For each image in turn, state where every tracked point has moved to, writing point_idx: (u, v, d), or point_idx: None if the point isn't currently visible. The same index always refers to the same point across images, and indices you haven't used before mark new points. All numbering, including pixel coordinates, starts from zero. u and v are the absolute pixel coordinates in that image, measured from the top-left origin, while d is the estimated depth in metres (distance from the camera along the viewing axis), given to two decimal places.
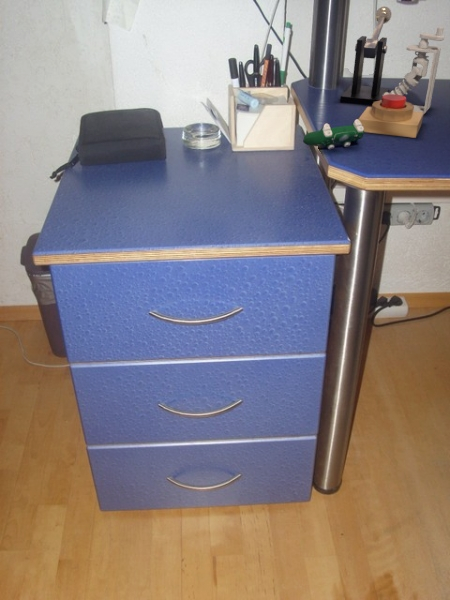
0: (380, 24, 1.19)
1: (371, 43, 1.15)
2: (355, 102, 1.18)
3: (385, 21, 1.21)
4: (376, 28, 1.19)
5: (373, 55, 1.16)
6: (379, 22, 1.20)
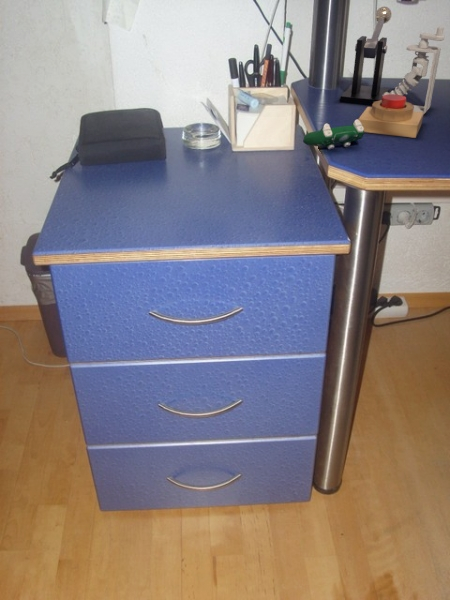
0: (380, 24, 1.19)
1: (371, 43, 1.15)
2: (355, 102, 1.18)
3: (385, 21, 1.21)
4: (376, 28, 1.19)
5: (373, 55, 1.16)
6: (379, 22, 1.20)
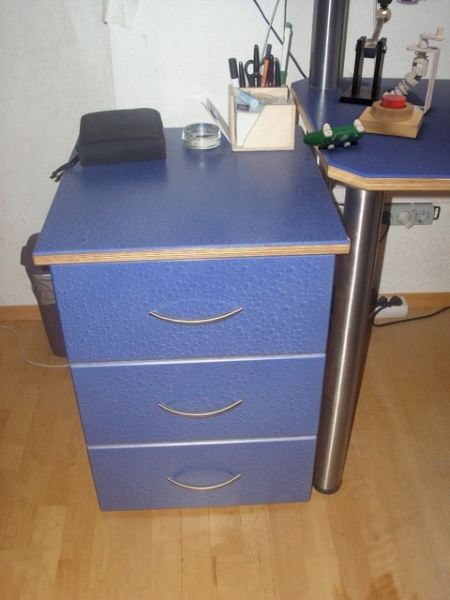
0: (380, 24, 1.19)
1: (371, 43, 1.15)
2: (355, 102, 1.18)
3: (385, 21, 1.21)
4: (376, 28, 1.19)
5: (373, 55, 1.16)
6: (379, 22, 1.20)
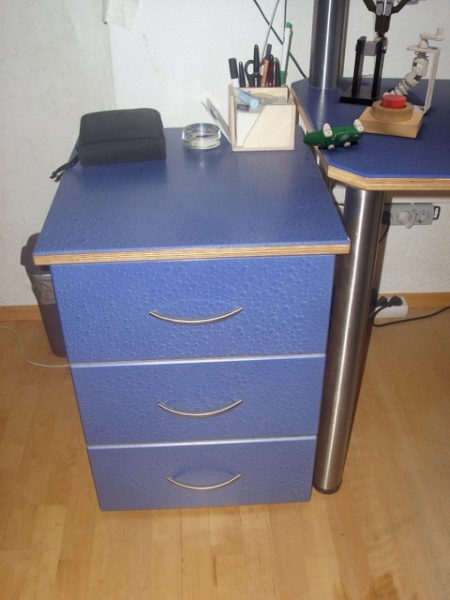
0: None
1: (372, 42, 1.16)
2: (355, 102, 1.18)
3: None
4: None
5: (373, 52, 1.15)
6: (377, 41, 1.22)
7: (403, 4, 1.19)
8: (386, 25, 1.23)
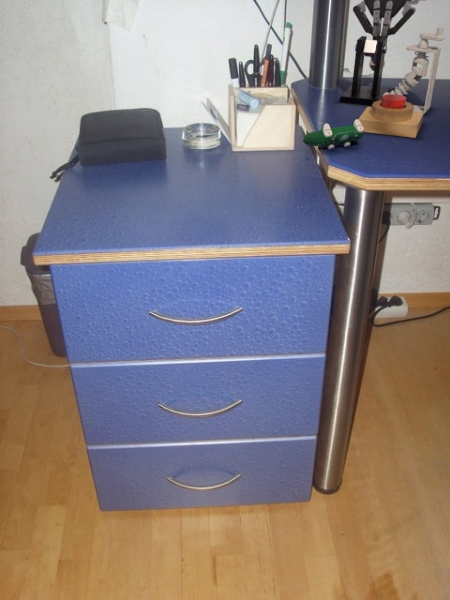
0: None
1: None
2: (355, 102, 1.18)
3: None
4: None
5: (373, 49, 1.15)
6: None
7: (399, 26, 1.20)
8: None
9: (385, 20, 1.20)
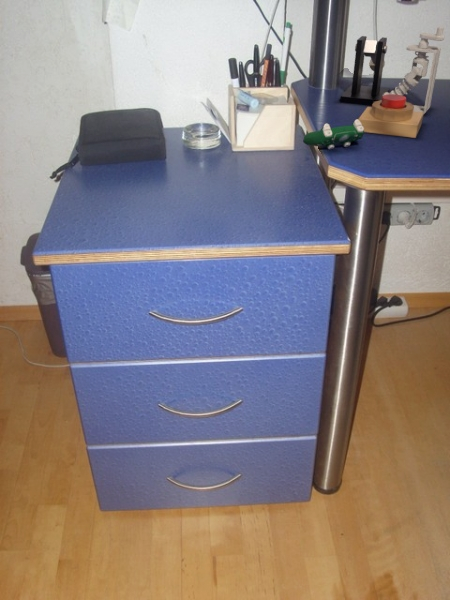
0: None
1: None
2: (355, 102, 1.18)
3: None
4: None
5: (373, 49, 1.15)
6: None
7: None
8: None
9: None
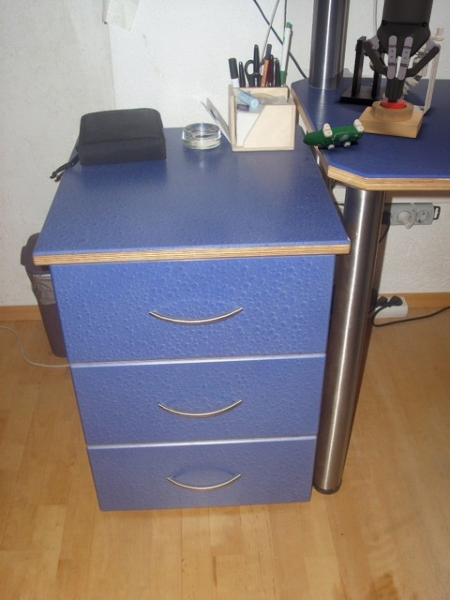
0: None
1: None
2: (355, 102, 1.18)
3: None
4: None
5: None
6: None
7: (421, 67, 0.97)
8: (399, 90, 1.01)
9: (403, 60, 0.97)
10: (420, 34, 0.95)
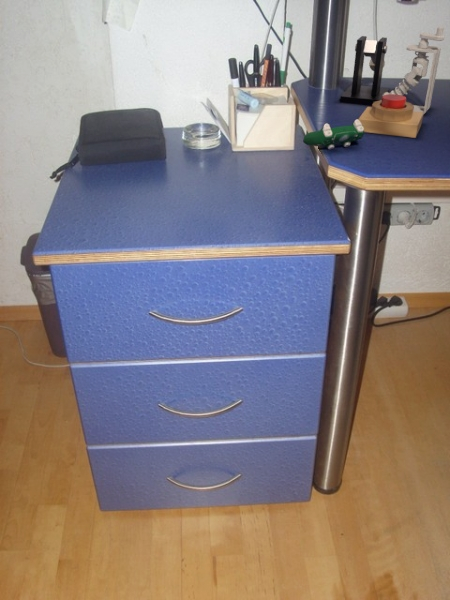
0: None
1: None
2: (355, 102, 1.18)
3: None
4: None
5: (373, 49, 1.15)
6: None
7: None
8: None
9: None
10: None
